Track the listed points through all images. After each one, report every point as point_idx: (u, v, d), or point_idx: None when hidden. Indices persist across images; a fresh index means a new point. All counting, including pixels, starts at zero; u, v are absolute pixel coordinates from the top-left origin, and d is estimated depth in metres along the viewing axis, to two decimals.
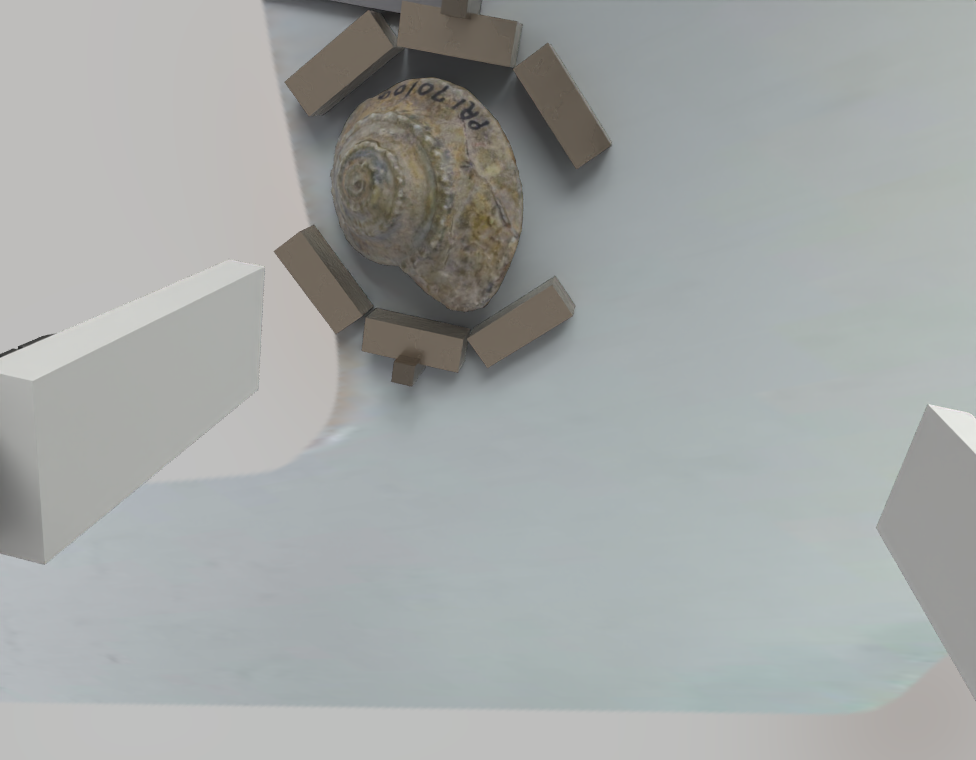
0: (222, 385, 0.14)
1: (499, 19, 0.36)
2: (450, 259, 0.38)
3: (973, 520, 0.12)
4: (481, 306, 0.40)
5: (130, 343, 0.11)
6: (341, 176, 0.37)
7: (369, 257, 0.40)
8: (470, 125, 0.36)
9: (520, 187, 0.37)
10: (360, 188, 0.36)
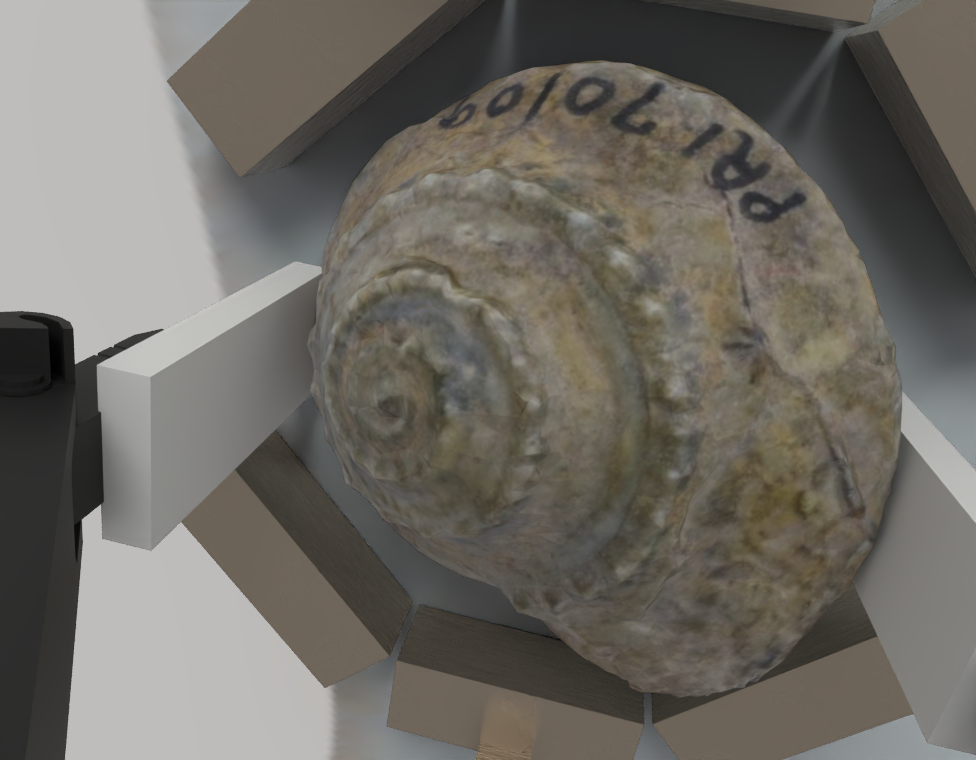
0: (291, 382, 0.15)
1: None
2: (664, 596, 0.13)
3: None
4: (730, 688, 0.14)
5: (224, 342, 0.12)
6: (337, 371, 0.12)
7: (418, 549, 0.15)
8: (747, 209, 0.11)
9: (900, 397, 0.12)
10: (396, 417, 0.11)
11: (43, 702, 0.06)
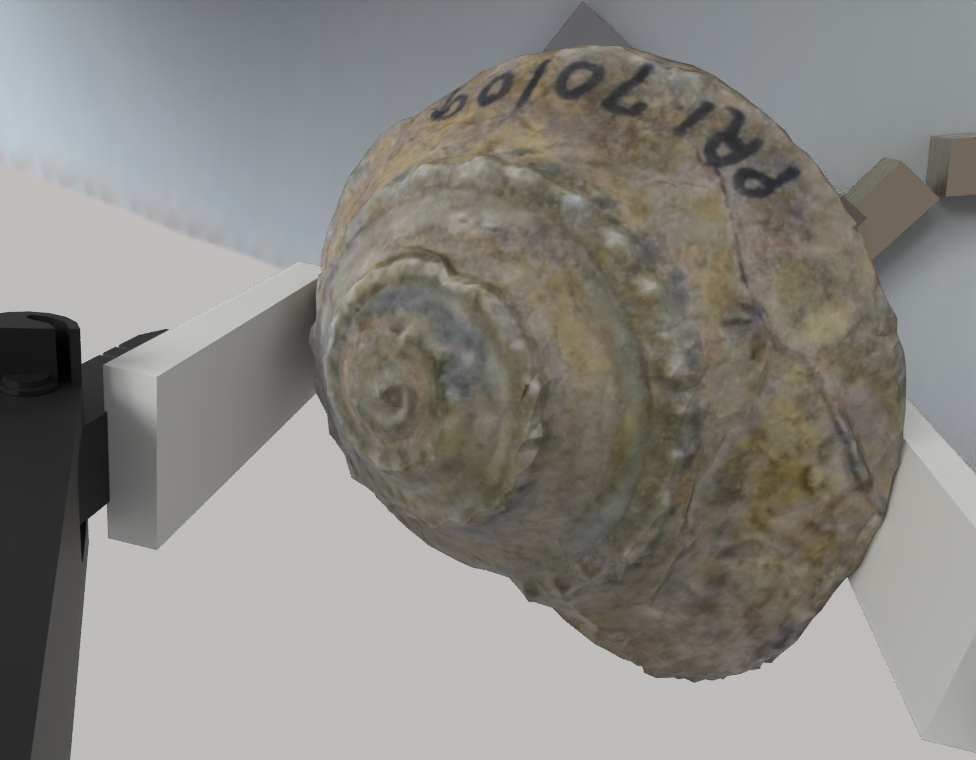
0: (295, 382, 0.15)
1: (882, 180, 0.28)
2: (675, 578, 0.13)
3: None
4: (745, 670, 0.14)
5: (229, 342, 0.12)
6: (337, 364, 0.12)
7: (427, 542, 0.15)
8: (740, 185, 0.11)
9: (903, 368, 0.12)
10: (398, 407, 0.11)
11: (48, 701, 0.06)
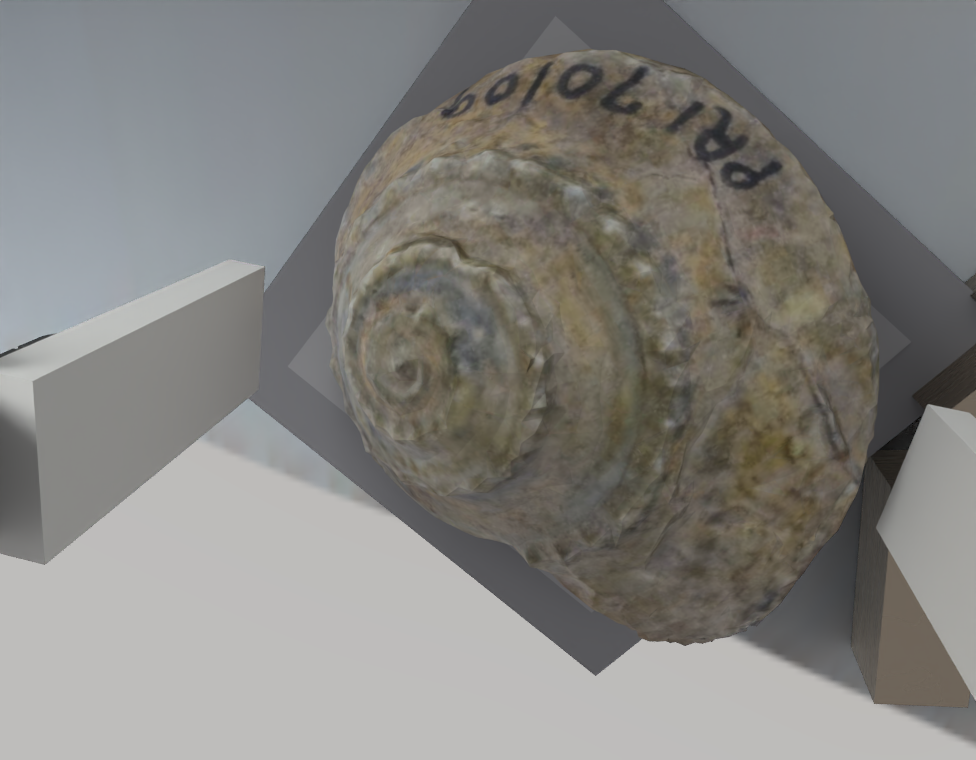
0: (222, 385, 0.14)
1: None
2: (667, 543, 0.14)
3: (973, 520, 0.12)
4: (732, 634, 0.15)
5: (130, 343, 0.11)
6: (355, 341, 0.13)
7: (434, 514, 0.16)
8: (727, 178, 0.12)
9: (877, 347, 0.13)
10: (412, 381, 0.12)
11: None
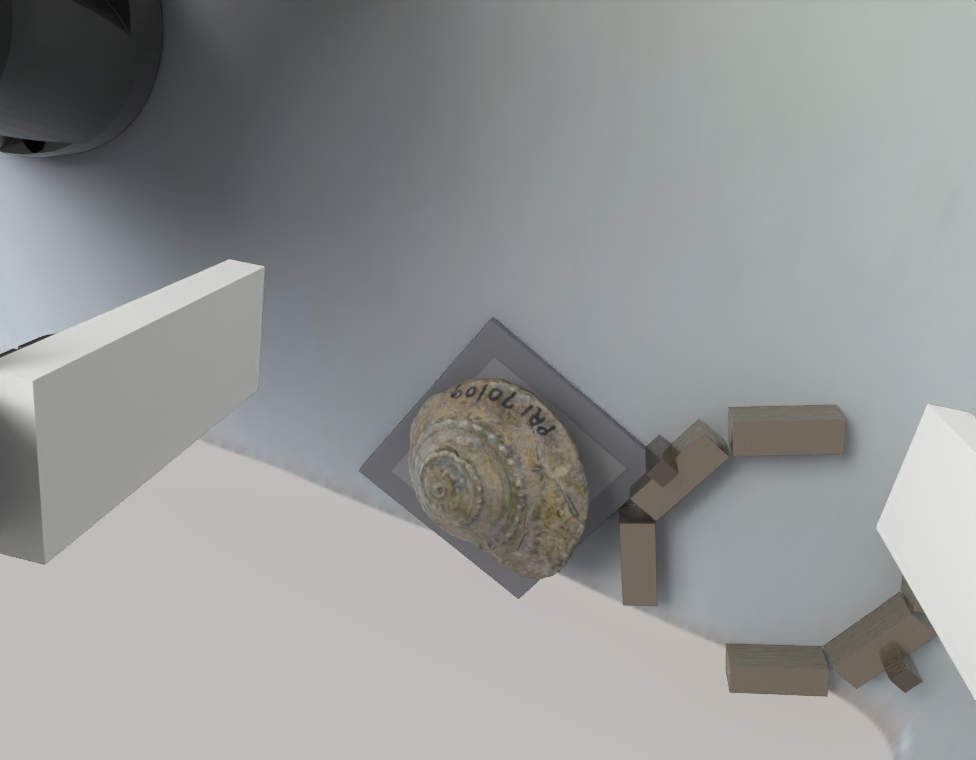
0: (222, 385, 0.14)
1: (691, 444, 0.42)
2: (524, 543, 0.42)
3: (973, 519, 0.12)
4: (551, 575, 0.43)
5: (130, 343, 0.11)
6: (423, 478, 0.41)
7: (446, 531, 0.44)
8: (538, 431, 0.40)
9: (586, 482, 0.41)
10: (441, 492, 0.40)
11: None
